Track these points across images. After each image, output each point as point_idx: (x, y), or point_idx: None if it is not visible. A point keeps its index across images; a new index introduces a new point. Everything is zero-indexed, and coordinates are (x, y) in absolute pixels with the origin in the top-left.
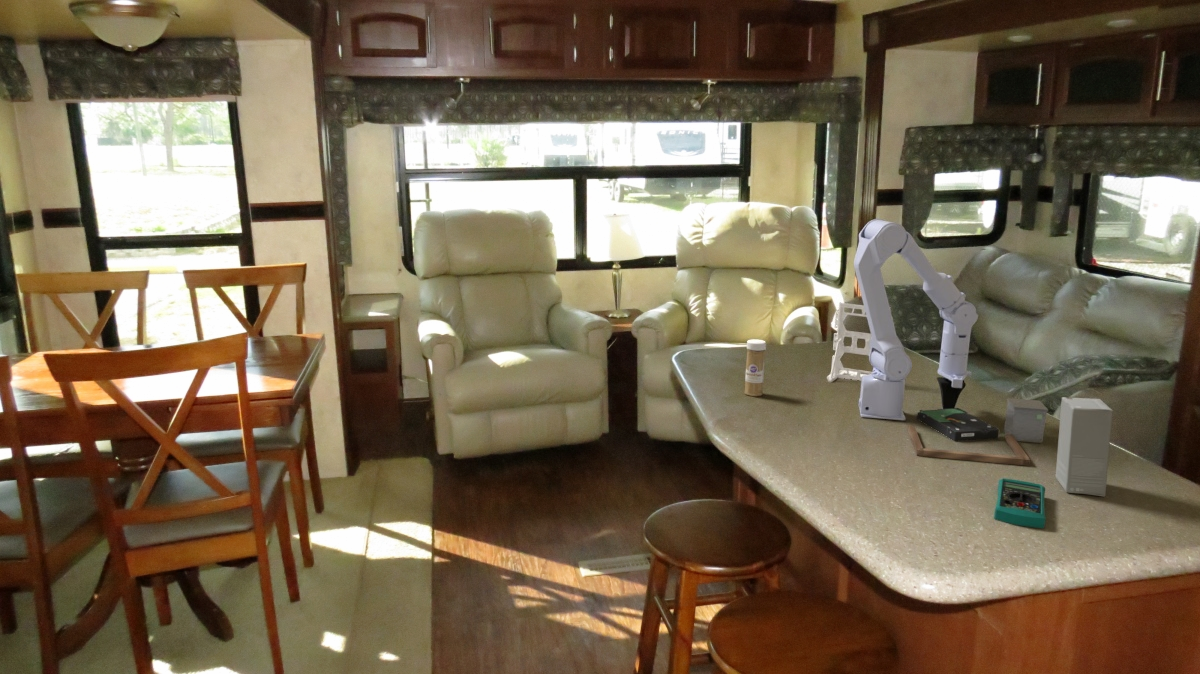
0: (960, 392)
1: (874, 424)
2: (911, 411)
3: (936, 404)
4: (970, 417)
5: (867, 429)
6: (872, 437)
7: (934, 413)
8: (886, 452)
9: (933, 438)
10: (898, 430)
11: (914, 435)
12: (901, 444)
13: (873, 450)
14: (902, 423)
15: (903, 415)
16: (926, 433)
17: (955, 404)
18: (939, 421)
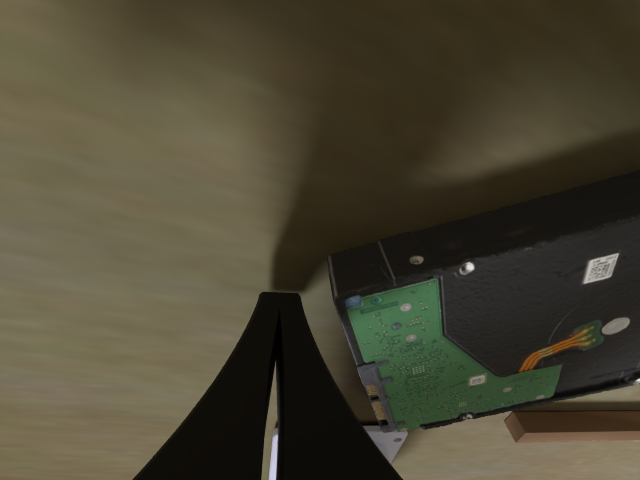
0: (364, 428)
1: (429, 466)
2: (274, 401)
3: (91, 310)
4: (545, 274)
5: (468, 474)
6: (529, 468)
7: (436, 400)
8: (635, 454)
9: None
10: (491, 435)
11: (609, 436)
12: None
13: (610, 467)
14: None
15: (371, 434)
16: None
17: (306, 323)
18: (549, 396)
